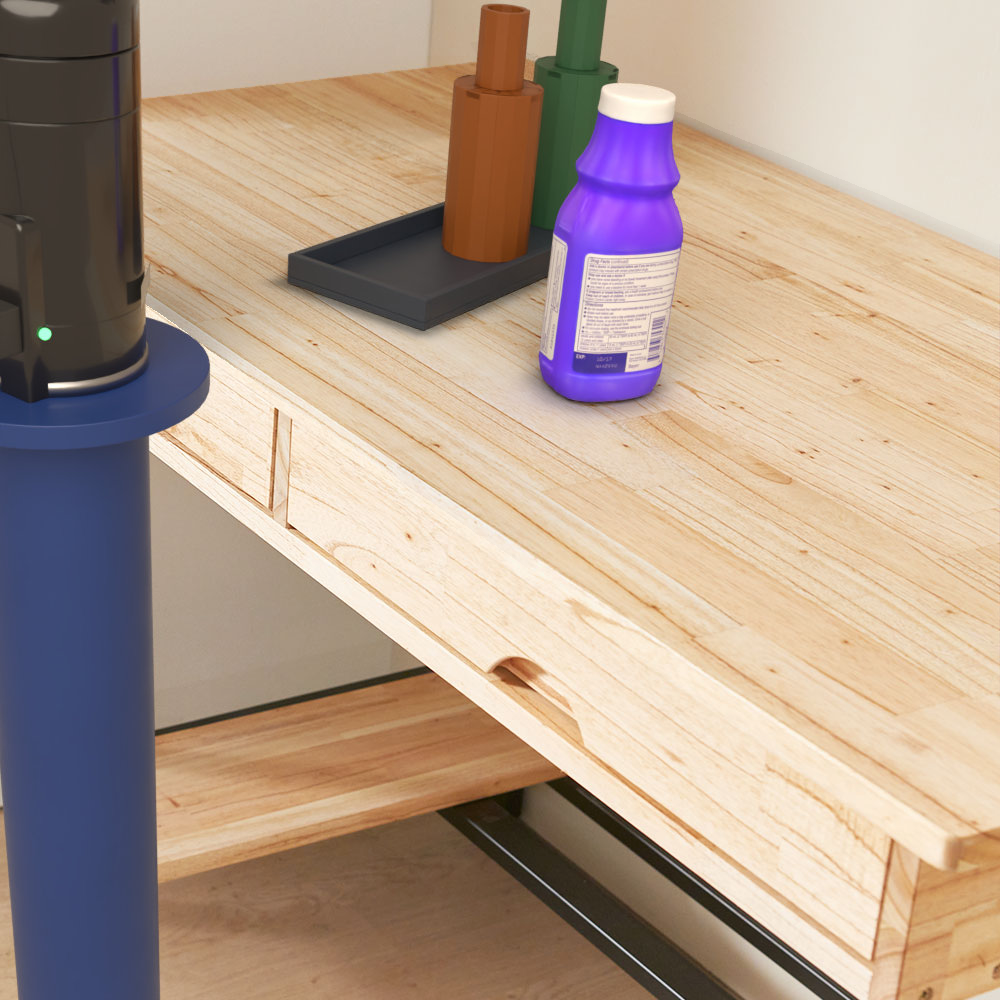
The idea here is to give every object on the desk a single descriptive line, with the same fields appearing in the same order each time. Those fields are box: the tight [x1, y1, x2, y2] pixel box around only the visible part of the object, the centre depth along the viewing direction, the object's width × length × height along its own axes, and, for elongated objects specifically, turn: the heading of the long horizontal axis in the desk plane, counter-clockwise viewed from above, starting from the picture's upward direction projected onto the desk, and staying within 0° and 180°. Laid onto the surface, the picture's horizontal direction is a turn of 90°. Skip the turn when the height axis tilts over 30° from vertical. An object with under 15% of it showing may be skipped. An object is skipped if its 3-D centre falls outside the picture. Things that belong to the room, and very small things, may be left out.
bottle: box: [538, 82, 684, 403], centre depth 86 cm, size 7×6×17 cm
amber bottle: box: [442, 3, 544, 263], centre depth 105 cm, size 6×6×17 cm
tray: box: [286, 200, 554, 331], centre depth 109 cm, size 29×11×2 cm, turn 146°
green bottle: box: [530, 0, 620, 230], centre depth 113 cm, size 6×6×17 cm
